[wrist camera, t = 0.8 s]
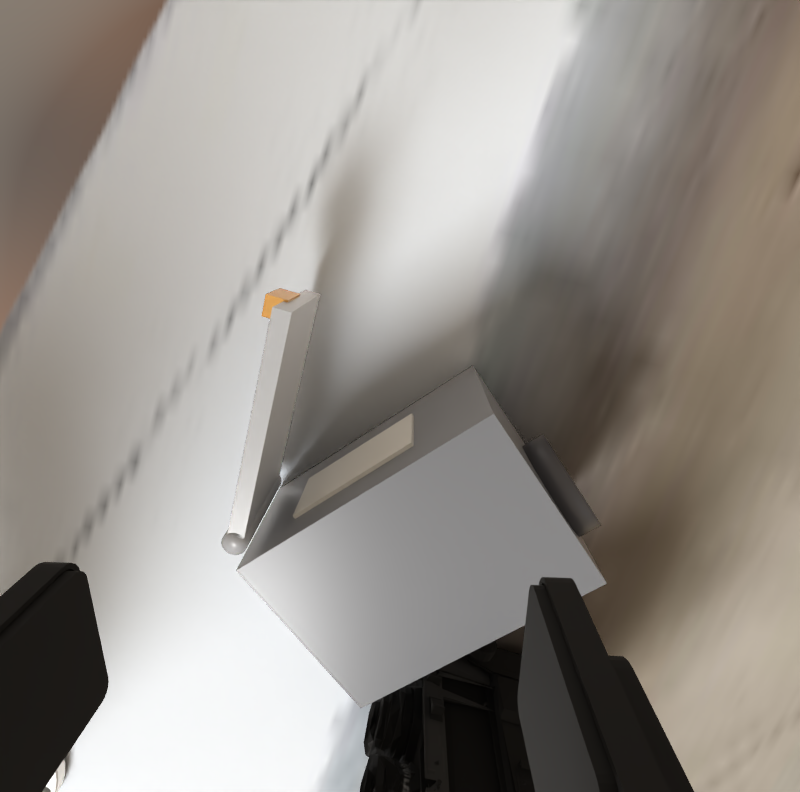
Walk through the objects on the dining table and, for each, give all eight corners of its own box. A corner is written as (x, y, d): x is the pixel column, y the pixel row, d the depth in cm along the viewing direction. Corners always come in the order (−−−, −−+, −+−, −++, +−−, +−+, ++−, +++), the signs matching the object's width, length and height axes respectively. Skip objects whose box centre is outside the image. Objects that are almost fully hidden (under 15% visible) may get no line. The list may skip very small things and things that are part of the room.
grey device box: (373, 601, 34) (360, 708, 26) (277, 486, 31) (233, 567, 24) (577, 487, 31) (630, 571, 23) (489, 350, 28) (516, 394, 21)
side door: (279, 491, 30) (244, 557, 24) (249, 483, 30) (207, 548, 24) (324, 292, 27) (297, 311, 20) (291, 283, 27) (253, 299, 20)
